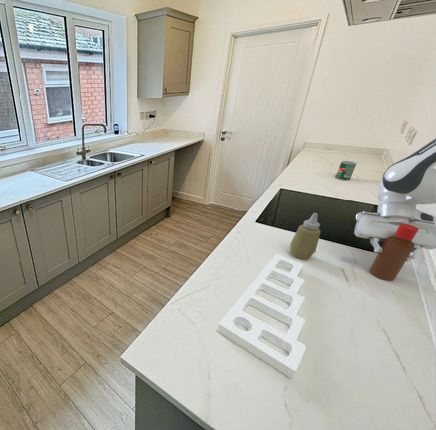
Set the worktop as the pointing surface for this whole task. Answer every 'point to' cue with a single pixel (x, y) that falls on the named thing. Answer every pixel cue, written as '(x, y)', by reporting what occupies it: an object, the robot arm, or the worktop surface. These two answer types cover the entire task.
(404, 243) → the bottle
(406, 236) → the cap
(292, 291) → the holder
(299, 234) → the squeeze bottle
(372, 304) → the worktop surface
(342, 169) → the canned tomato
